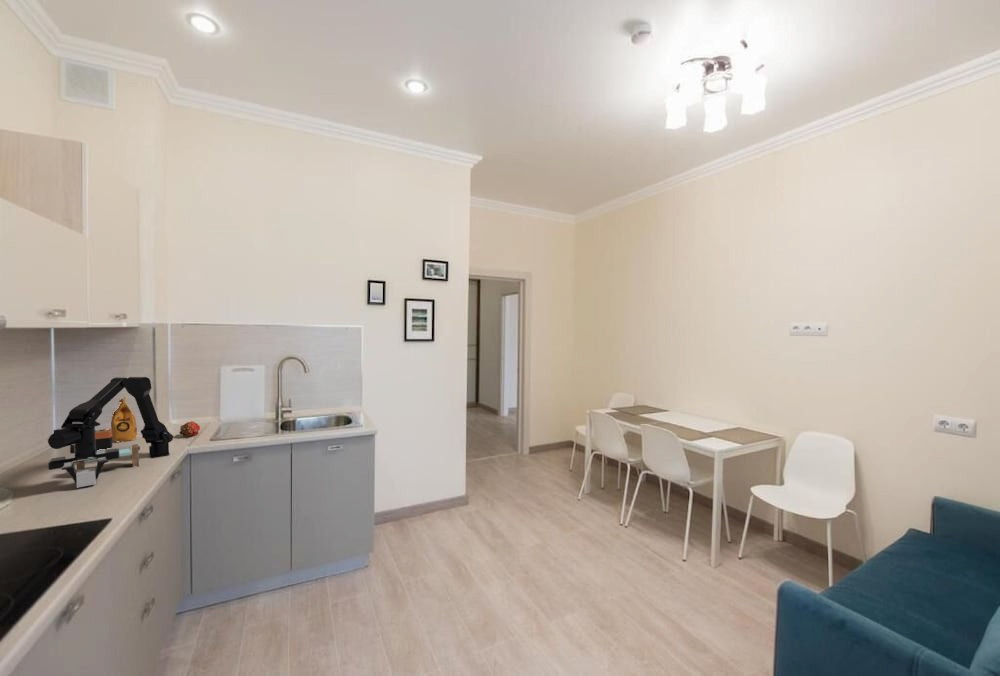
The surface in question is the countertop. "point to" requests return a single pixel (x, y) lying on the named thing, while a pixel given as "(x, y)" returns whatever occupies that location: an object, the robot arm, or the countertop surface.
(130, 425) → the coffee package
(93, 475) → the grey cube
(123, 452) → the trapdoor
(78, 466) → the trapdoor frame
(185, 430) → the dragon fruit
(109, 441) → the battery
